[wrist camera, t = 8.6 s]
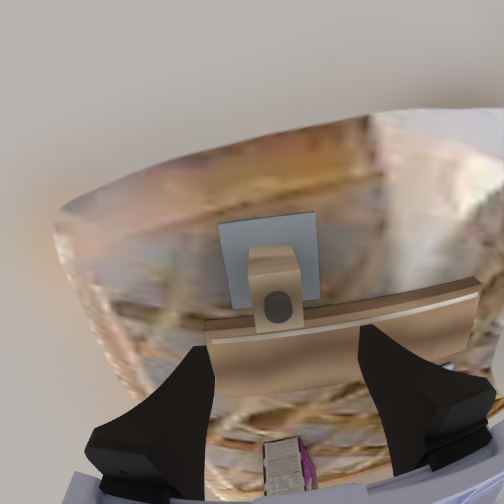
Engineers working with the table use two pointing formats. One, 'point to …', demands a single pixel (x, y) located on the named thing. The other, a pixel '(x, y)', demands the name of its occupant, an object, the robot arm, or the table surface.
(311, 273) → the slate mat
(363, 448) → the table surface
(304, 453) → the candy bar box
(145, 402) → the robot arm
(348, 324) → the walnut board
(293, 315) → the block
